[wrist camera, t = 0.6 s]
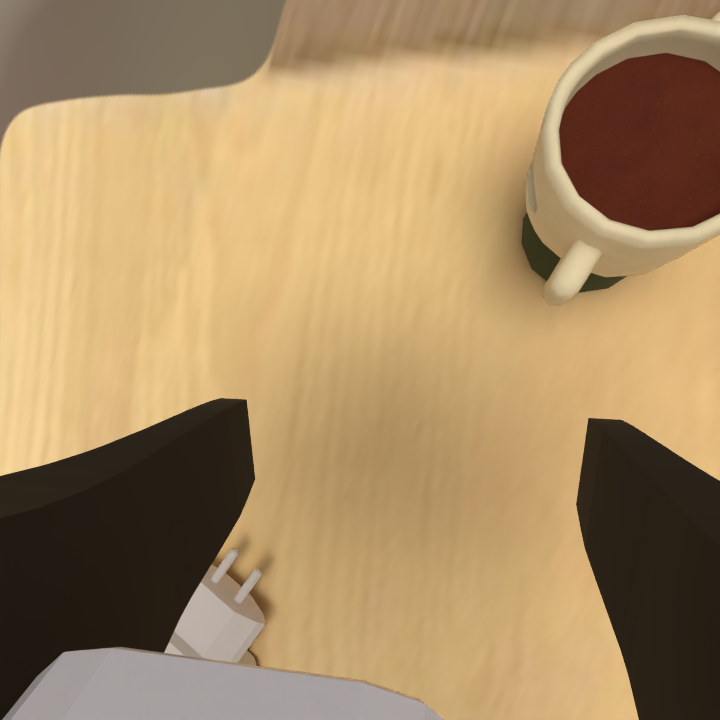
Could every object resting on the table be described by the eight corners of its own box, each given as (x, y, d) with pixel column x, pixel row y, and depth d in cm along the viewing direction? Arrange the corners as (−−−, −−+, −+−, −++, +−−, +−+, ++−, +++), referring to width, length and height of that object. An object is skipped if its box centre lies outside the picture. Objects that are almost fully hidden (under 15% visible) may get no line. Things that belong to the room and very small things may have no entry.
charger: (324, 597, 32) (184, 787, 33) (206, 498, 33) (78, 683, 35) (299, 636, 27) (137, 854, 29) (163, 518, 29) (17, 731, 30)
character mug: (575, 114, 29) (653, -83, 17) (702, 174, 28) (893, 8, 15) (469, 291, 30) (466, 232, 18) (587, 357, 29) (677, 345, 16)
